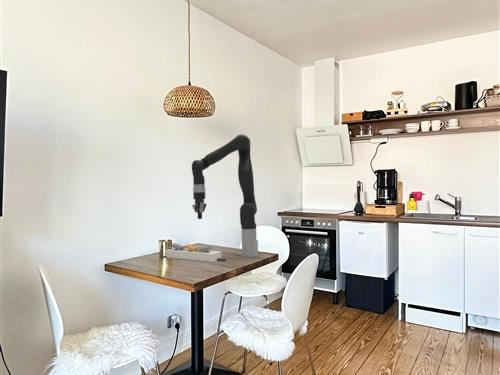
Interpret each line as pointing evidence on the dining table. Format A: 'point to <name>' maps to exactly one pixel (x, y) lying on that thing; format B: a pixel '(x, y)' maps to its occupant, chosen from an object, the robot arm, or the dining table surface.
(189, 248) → the rocker middle
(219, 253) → the power strip
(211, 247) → the rocker near
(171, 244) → the rocker far
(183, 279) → the dining table surface
